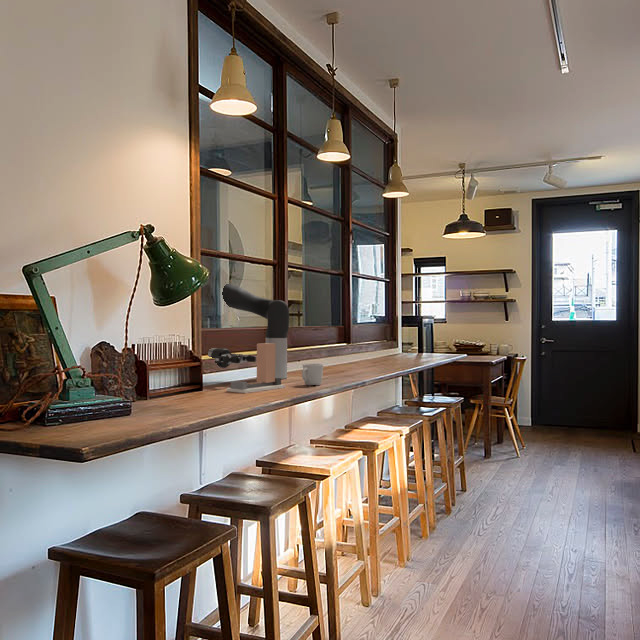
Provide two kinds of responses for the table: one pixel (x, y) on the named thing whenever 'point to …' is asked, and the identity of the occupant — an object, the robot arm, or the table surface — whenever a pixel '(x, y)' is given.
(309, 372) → the cup
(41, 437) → the table surface
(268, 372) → the block
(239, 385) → the rail board
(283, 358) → the robot arm
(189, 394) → the table surface
